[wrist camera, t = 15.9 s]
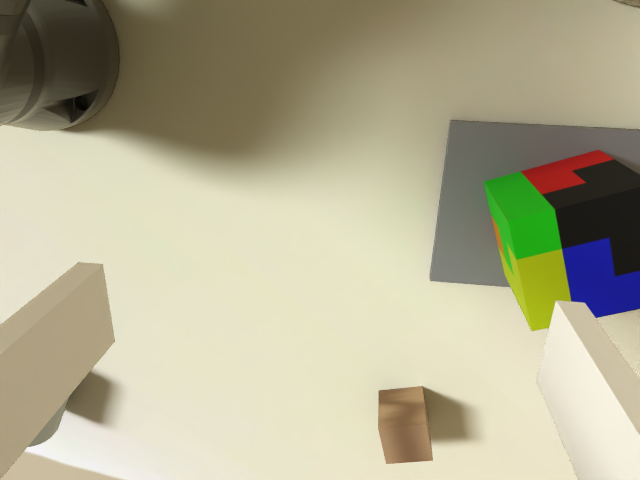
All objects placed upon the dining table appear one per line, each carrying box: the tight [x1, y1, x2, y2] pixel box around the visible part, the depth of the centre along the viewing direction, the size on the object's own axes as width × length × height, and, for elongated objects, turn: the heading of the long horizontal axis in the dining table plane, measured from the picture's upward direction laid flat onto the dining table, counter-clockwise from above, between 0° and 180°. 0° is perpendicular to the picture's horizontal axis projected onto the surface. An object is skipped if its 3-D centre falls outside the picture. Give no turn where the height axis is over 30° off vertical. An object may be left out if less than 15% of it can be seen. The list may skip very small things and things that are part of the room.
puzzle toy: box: [484, 150, 640, 331], centre depth 43 cm, size 10×10×10 cm
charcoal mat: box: [430, 120, 640, 287], centre depth 48 cm, size 20×16×1 cm
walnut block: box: [378, 386, 433, 464], centre depth 57 cm, size 5×5×6 cm
